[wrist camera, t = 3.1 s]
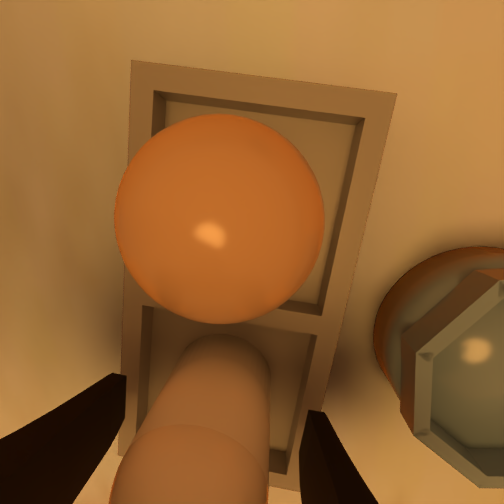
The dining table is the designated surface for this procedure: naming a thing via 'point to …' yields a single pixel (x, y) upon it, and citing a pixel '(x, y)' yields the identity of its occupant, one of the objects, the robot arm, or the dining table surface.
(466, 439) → the octagonal bowl
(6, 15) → the dining table surface
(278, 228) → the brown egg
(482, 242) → the dining table surface
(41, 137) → the dining table surface
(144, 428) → the tan rounded cylinder
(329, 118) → the divided tray
